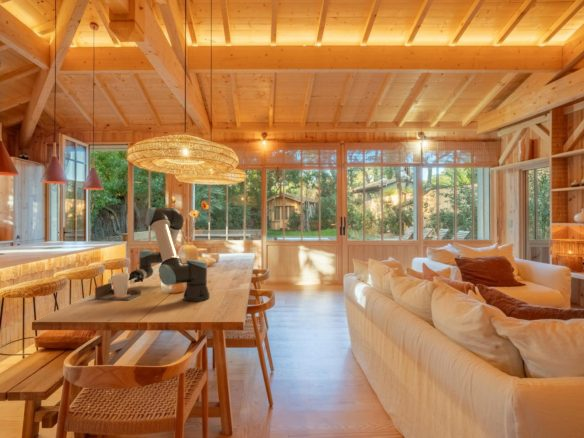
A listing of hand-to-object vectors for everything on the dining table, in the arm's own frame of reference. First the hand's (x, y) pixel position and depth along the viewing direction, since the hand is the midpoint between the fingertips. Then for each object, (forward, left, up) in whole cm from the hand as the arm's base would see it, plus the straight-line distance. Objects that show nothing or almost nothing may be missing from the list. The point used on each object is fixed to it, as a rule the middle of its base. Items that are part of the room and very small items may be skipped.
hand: (119, 281), depth 198 cm
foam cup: (0, 0, -9) cm, 9 cm away
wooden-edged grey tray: (+1, -1, -9) cm, 9 cm away
